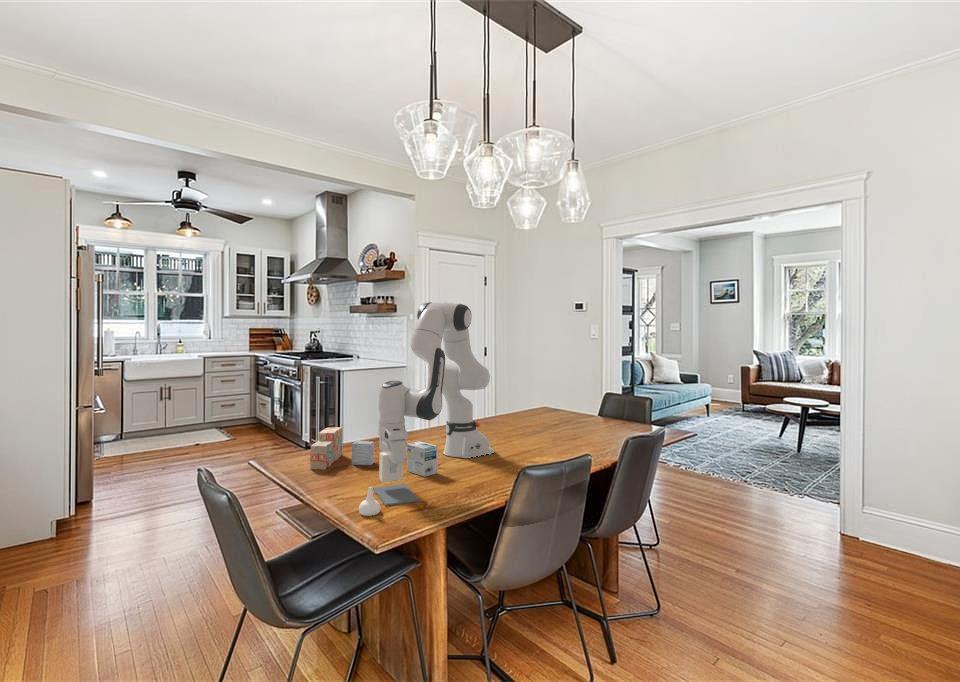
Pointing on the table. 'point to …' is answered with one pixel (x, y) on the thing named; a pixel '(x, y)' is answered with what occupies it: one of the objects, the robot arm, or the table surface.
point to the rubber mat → (395, 494)
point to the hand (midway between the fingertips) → (391, 470)
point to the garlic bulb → (369, 505)
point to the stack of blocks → (326, 448)
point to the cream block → (388, 469)
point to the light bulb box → (422, 458)
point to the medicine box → (362, 453)
